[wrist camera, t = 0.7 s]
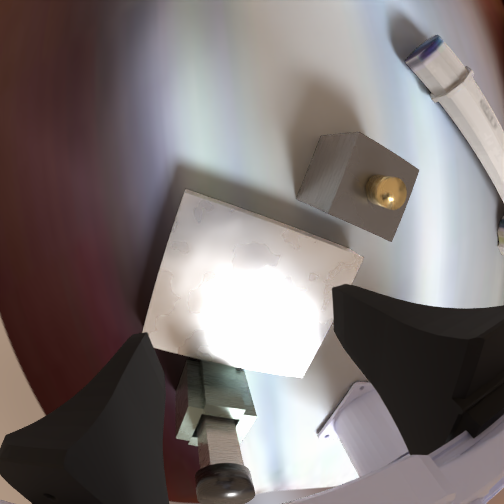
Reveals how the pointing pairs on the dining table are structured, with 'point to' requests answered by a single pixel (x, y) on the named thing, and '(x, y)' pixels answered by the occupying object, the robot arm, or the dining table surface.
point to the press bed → (240, 305)
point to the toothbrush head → (463, 107)
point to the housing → (359, 182)
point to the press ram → (221, 464)
